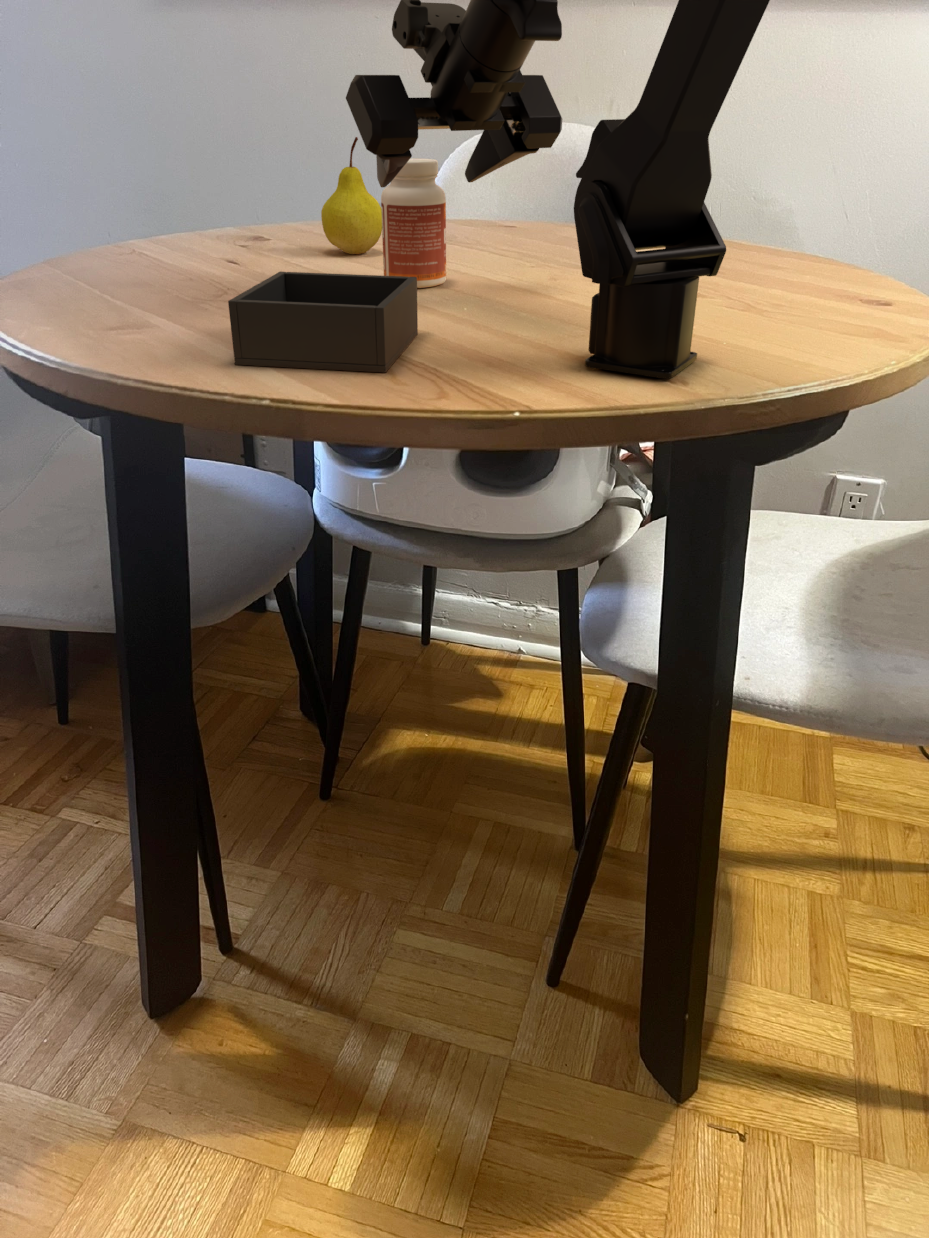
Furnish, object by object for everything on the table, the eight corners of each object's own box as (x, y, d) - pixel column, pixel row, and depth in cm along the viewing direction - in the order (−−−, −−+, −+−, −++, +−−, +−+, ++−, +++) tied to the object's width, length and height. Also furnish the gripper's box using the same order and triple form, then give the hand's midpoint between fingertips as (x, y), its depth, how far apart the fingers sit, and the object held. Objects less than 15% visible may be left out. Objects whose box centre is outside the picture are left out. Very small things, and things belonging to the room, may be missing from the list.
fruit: (315, 250, 114) (308, 134, 108) (370, 246, 117) (366, 133, 111) (336, 260, 109) (329, 139, 103) (393, 255, 111) (390, 137, 105)
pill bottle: (458, 285, 97) (459, 161, 92) (404, 291, 94) (401, 164, 89) (425, 275, 102) (424, 156, 96) (372, 281, 99) (368, 158, 93)
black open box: (417, 335, 80) (417, 277, 77) (385, 373, 70) (383, 307, 68) (284, 328, 81) (279, 271, 79) (234, 364, 72) (227, 300, 69)
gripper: (551, -34, 84) (479, 107, 97) (350, -46, 75) (302, 110, 89) (601, 75, 82) (521, 203, 95) (401, 75, 73) (344, 215, 87)
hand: (425, 180), depth 92 cm, fingers open, 9 cm apart
